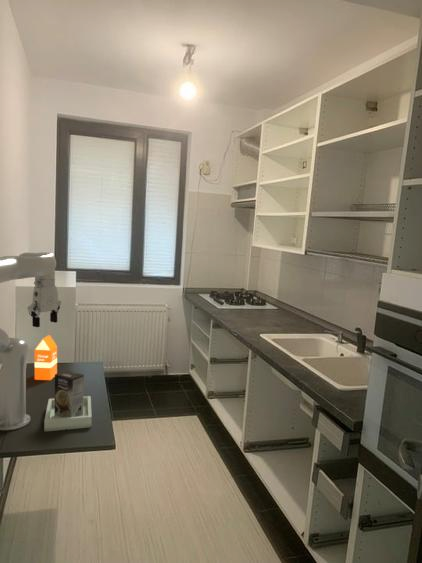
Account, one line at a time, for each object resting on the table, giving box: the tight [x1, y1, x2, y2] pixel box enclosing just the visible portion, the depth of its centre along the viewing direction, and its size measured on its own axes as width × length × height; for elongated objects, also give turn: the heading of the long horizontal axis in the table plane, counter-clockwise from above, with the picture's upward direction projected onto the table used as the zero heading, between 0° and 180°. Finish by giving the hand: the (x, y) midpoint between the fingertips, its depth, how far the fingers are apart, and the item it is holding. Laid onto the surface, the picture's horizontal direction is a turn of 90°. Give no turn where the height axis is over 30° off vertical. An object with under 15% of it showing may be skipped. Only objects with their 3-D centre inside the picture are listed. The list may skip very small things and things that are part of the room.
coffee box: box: [54, 370, 85, 418], centre depth 155 cm, size 9×6×16 cm
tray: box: [43, 395, 93, 432], centre depth 155 cm, size 20×16×4 cm
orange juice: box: [34, 334, 58, 381], centre depth 197 cm, size 8×9×20 cm
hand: (45, 324), depth 167 cm, fingers open, 9 cm apart
